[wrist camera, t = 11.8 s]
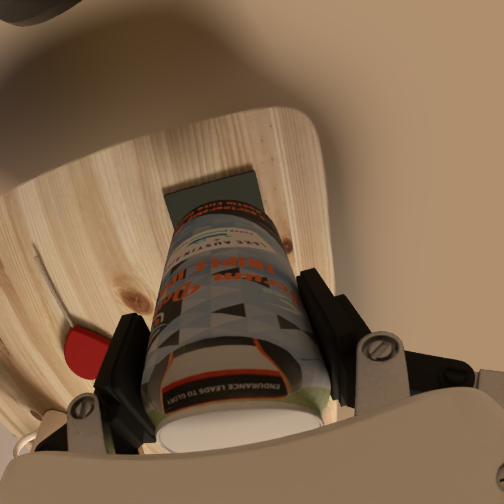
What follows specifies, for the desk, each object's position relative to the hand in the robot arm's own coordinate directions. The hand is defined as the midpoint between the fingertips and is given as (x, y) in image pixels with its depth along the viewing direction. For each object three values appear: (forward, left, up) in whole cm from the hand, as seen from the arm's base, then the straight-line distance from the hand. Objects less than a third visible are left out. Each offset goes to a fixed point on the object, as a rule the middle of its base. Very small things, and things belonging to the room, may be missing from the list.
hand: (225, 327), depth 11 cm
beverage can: (0, 0, -7) cm, 7 cm away
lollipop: (+5, -17, -13) cm, 22 cm away
